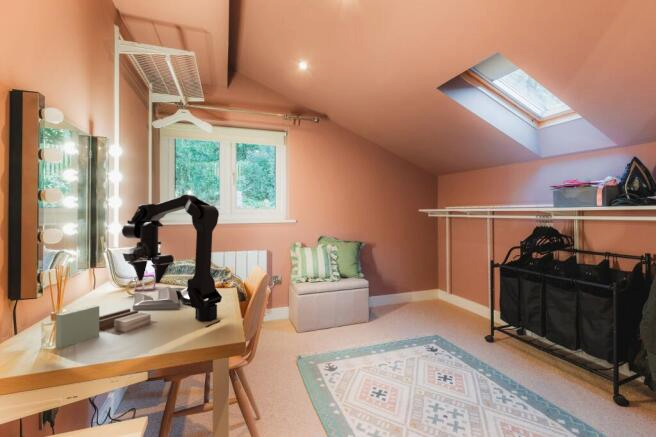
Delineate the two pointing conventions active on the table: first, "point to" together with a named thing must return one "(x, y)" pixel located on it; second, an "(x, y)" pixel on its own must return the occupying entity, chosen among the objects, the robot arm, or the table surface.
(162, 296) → the emblem
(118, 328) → the offcut lower
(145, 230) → the robot arm
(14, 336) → the table surface
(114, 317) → the rack
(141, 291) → the bracelet
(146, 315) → the offcut upper
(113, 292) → the table surface
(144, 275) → the toy chair
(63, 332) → the green panel
